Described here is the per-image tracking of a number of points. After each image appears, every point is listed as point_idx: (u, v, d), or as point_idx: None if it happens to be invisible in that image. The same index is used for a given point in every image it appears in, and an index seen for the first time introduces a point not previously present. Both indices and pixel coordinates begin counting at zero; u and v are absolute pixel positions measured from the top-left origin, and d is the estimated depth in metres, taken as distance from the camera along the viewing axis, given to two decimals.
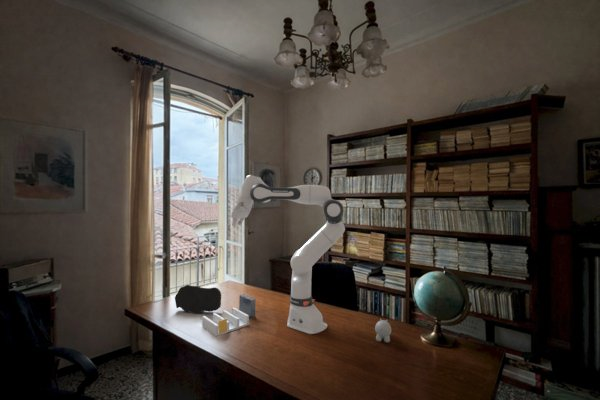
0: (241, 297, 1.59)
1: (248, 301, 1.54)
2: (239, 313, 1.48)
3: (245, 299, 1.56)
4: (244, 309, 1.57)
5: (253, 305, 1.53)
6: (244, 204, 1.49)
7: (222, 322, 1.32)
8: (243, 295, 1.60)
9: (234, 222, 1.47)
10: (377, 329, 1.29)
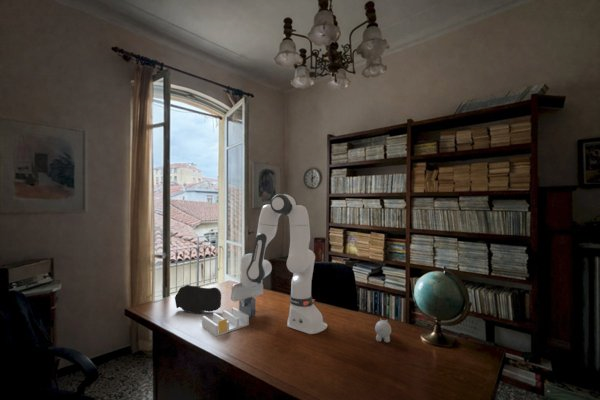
0: None
1: (248, 301, 1.54)
2: (239, 313, 1.48)
3: (245, 299, 1.56)
4: (244, 309, 1.57)
5: (253, 305, 1.53)
6: (243, 284, 1.54)
7: (222, 322, 1.32)
8: None
9: (242, 303, 1.55)
10: (377, 329, 1.29)
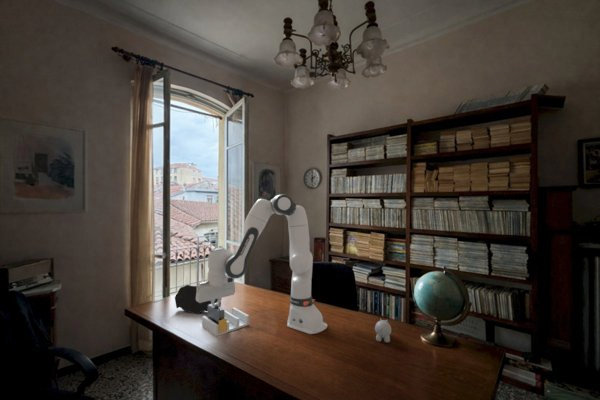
0: (209, 307, 1.40)
1: (216, 312, 1.35)
2: (239, 313, 1.48)
3: (213, 309, 1.37)
4: None
5: (221, 317, 1.34)
6: (210, 283, 1.35)
7: (222, 322, 1.32)
8: (211, 304, 1.41)
9: (212, 303, 1.37)
10: (377, 329, 1.29)
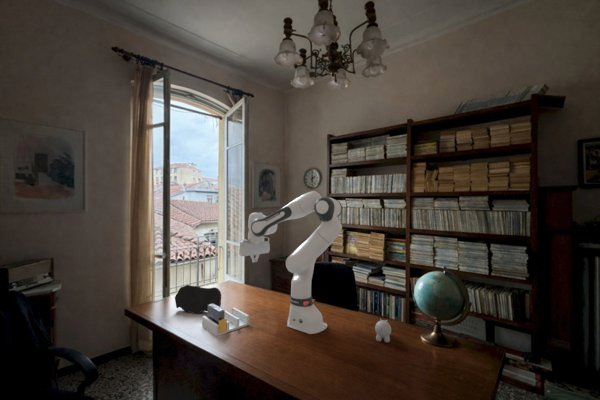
0: (209, 307, 1.40)
1: (216, 312, 1.35)
2: (239, 313, 1.48)
3: (213, 309, 1.37)
4: None
5: (221, 317, 1.34)
6: (250, 241, 1.60)
7: (222, 322, 1.32)
8: (211, 304, 1.41)
9: (252, 258, 1.62)
10: (377, 329, 1.29)
